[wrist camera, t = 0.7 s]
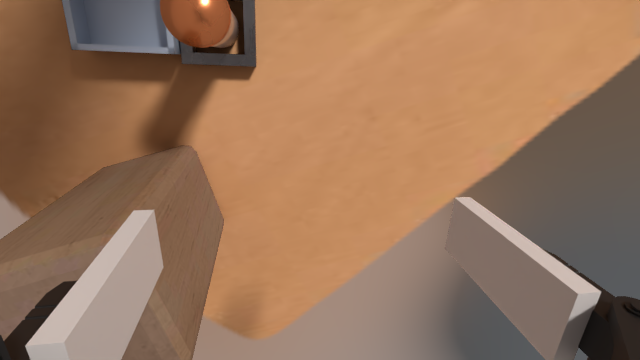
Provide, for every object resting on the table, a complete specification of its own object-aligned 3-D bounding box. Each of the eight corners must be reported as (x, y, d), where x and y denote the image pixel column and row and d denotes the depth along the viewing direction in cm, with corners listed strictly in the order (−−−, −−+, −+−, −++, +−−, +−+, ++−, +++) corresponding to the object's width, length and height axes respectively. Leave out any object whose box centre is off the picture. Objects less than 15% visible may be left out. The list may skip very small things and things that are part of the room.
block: (227, 222, 38) (194, 380, 20) (141, 248, 38) (22, 435, 19) (194, 140, 34) (114, 238, 16) (97, 167, 34) (-103, 302, 15)
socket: (178, -16, 30) (174, -20, 28) (254, -10, 31) (254, -14, 29) (185, 63, 32) (182, 63, 30) (256, 66, 33) (255, 66, 32)
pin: (195, 1, 30) (155, -30, 19) (240, 5, 31) (227, -24, 20) (198, 49, 32) (163, 45, 20) (242, 51, 32) (231, 48, 21)
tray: (70, -55, 28) (48, -67, 25) (173, -45, 29) (163, -56, 26) (89, 50, 30) (71, 49, 27) (182, 54, 32) (174, 54, 29)
